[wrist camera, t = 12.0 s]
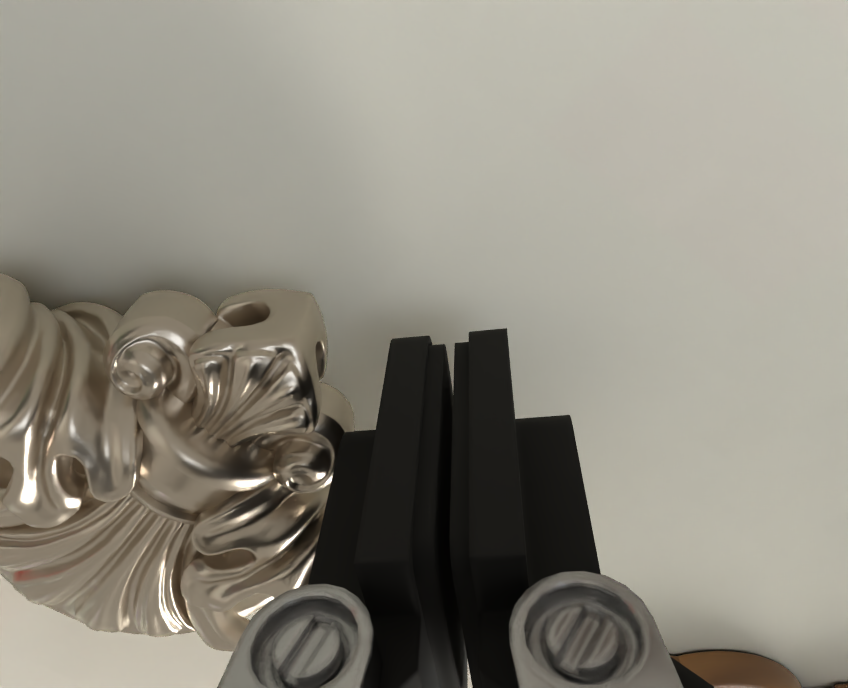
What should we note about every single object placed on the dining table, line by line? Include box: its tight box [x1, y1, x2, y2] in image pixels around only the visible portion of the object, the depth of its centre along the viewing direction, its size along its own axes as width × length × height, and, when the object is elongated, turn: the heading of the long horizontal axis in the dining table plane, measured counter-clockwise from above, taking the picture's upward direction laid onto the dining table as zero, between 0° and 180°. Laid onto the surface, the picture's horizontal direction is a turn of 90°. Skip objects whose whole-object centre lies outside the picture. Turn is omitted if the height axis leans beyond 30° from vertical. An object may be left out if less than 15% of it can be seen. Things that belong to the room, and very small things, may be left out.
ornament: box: [0, 274, 354, 651], centre depth 11 cm, size 8×7×4 cm
